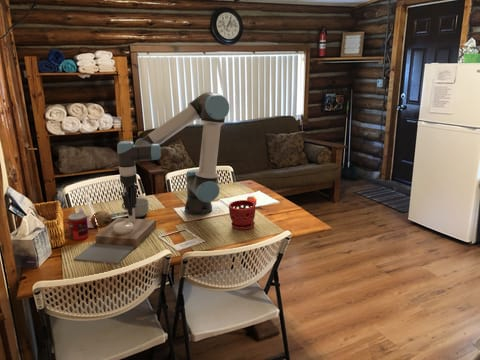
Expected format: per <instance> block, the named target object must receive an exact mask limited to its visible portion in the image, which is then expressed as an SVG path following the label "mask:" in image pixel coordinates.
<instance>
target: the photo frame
mask: <svg viewBox="0 0 480 360" xmlns="http://www.w3.org/2000/svg"><path fill="white" fill-rule="evenodd" d="M182 231H186V232H187V233H188V232H189V233H188V234H190V233H191V234H190V235H191V236H193V235H194V236H193V237H194V238H193V239H190V240H186V241H183V242H180V243H177V244H174V245H173V244H172V243H170V242H168V241H167V240H165V239H164V238H163V237H165V236H168V235H169V236H170V235H171V234H175V233H178V232H182ZM196 237H197V238H196ZM158 238H159V240H161V241H162V242H163V243H165V244H167V245H168V246H169V245H170V246H169V247H170V248H174V250H175V251H176V252H180V251H184V250H185V249H186V250H187V249H190V248H192V247H194V246H193V245H195V246H197V245H196V244H198V245H200V244H199V243H201V244H204V243H206V240H205V239H202V237H200V236H198V235H196V234H195V233H193V232H191V231H190V230H188V229H187V228H182V229H179V230H177V231H176V230H175V231H172V232H169V233H166V234H163V235H159V236H158ZM203 242H204V243H203ZM191 246H192V247H191Z"/></svg>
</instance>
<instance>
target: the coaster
mask: <svg viewBox="0 0 480 360" xmlns="http://www.w3.org/2000/svg"><path fill="white" fill-rule="evenodd" d="M113 230H114V233H116V234H127V233H130V232H132V231H133V230H134V227H133V223H132V222H119V223H116V224H114V225H113Z"/></svg>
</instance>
